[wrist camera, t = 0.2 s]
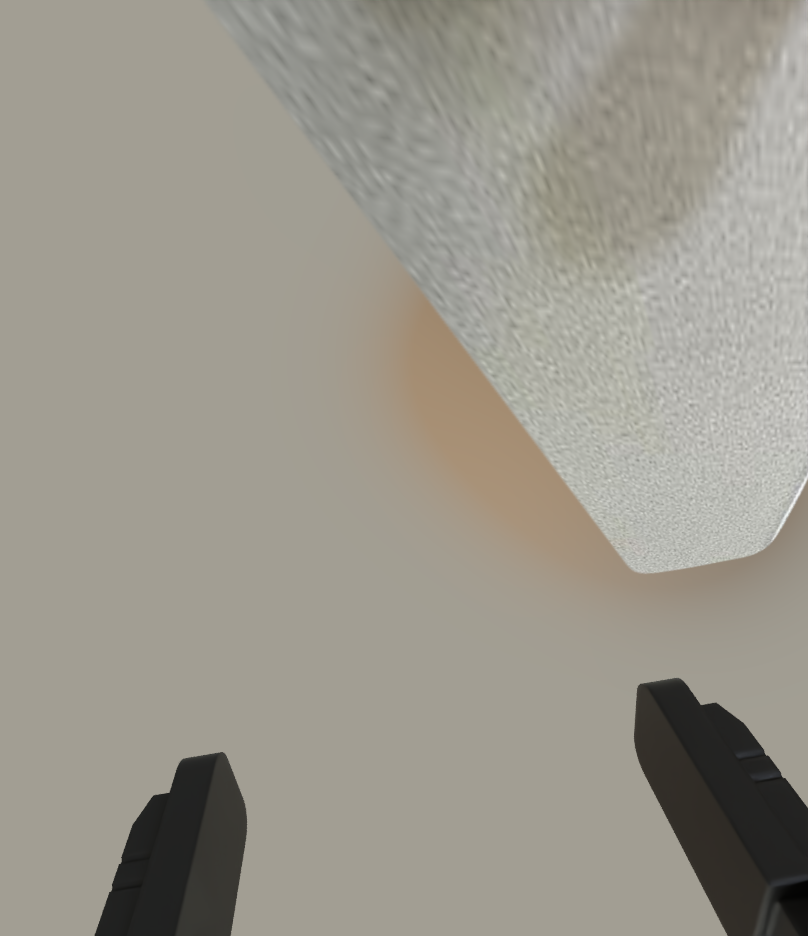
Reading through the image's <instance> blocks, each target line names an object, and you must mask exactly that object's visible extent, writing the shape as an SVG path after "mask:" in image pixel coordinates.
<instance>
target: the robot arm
mask: <svg viewBox="0 0 808 936" xmlns="http://www.w3.org/2000/svg"><path fill="white" fill-rule="evenodd" d="M634 742H635V748H636V752H637V756H638V759H639V763H640V765H641V768H642V770H643V772H644V774H645V776H646V778H647V780H648V782H649V784H650V786H651V788H652V790H653V792H654V794H655V795H656V798H657V799H658V801H659V803H660V805H661V807H662V809H663V811H664V813H665V815H666V817H667V819H668V821H669V823H670V824H671V826H672V828H673V830H674V833H675V834H676V836H677V838H678V840H679V842H680V844H681V846H682V848H683V850H684V852H685V854H686V856H687V857H688V860H689V862H690V863H691V865H692V867H693V869H694V871H695V873H696V875H697V877H698V879H699V881H700V883H701V885H702V887H703V889H704V891H705V893H706V895H707V896H708V898H709V900H710V902H711V904H712V906H713V908H714V910H715V912H716V914H717V916H718V918H719V920H720V922H721V924H722V926H723V927H724V929H725V931H726V933H727V935H728V936H808V808H807V806H806V805H805V804H804V802H803V801H802V800H801V798H800V797H799V796H798V794H797V793H796V792H795V790H794V789H793V788H792V787H791V785H790V784H789V783H788V781H787V780H786V779H785V778H783V777H782V776H781V772H780V771H779V769H778V768H777V767H776V765H775V764H774V763H773V761H772V760H771V759H770V757H769V756H766V755H765V753H764V749H763V748H762V747H761V745H760V744H759V743H758V742H757V740H756V739H755V737H754V736H753V735H752V733H751V732H750V731H749V729H748V728H747V727H746V726H745V724H744V723H743V722H741V721H740V720H739V719H737V718H736V717H734V716H733V715H732V714H731V713H729V712H728V711H727V710H725V709H724V708H723V707H721V706H720V705H719V704H717V703H711V704H705V705H700V703H699V702H698V700H697V699H696V697H695V696H694V695H693V693H692V692H691V691H690V689H689V687H688V686H687V685H686V684H685V683H684V681H682V680H681V679H679V678H673V679H667V680H661V681H656V682H650V683H644V684H640V685H639V686H638V688H637V701H636V715H635V731H634ZM246 833H247V816H246V808H245V803H244V800H243V797H242V795H241V792H240V789H239V787H238V784H237V782H236V779H235V776H234V774H233V771H232V769H231V766H230V764H229V761H228V759H227V756H226V755H225V754H224V753H223V752H220V753H215V754H209V755H203V756H197V757H191V758H185V759H183V760H182V761H181V762H180V763H179V765H178V767H177V770H176V773H175V777H174V780H173V783H172V787H171V790H170V793H166V794H159V795H154V796H153V797H152V798H151V800H150V801H149V802H148V804H147V806H146V807H145V808H144V810H143V811H142V812H141V814H140V815H139V817H138V818H137V820H136V821H135V822H134V824H133V825H132V828H131V831H130V834H129V837H128V840H127V843H126V846H125V849H124V852H123V854H122V857H121V858H122V862H121V864H119V866H118V869H117V872H116V875H115V878H114V881H113V884H112V891H111V892H109V895H108V898H107V901H106V904H105V907H104V910H103V913H102V916H101V919H100V921H99V924H98V927H97V930H96V933H95V936H230V935H231V930H232V924H233V917H234V911H235V905H236V898H237V892H238V885H239V879H240V873H241V867H242V861H243V854H244V848H245V841H246Z"/></svg>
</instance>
